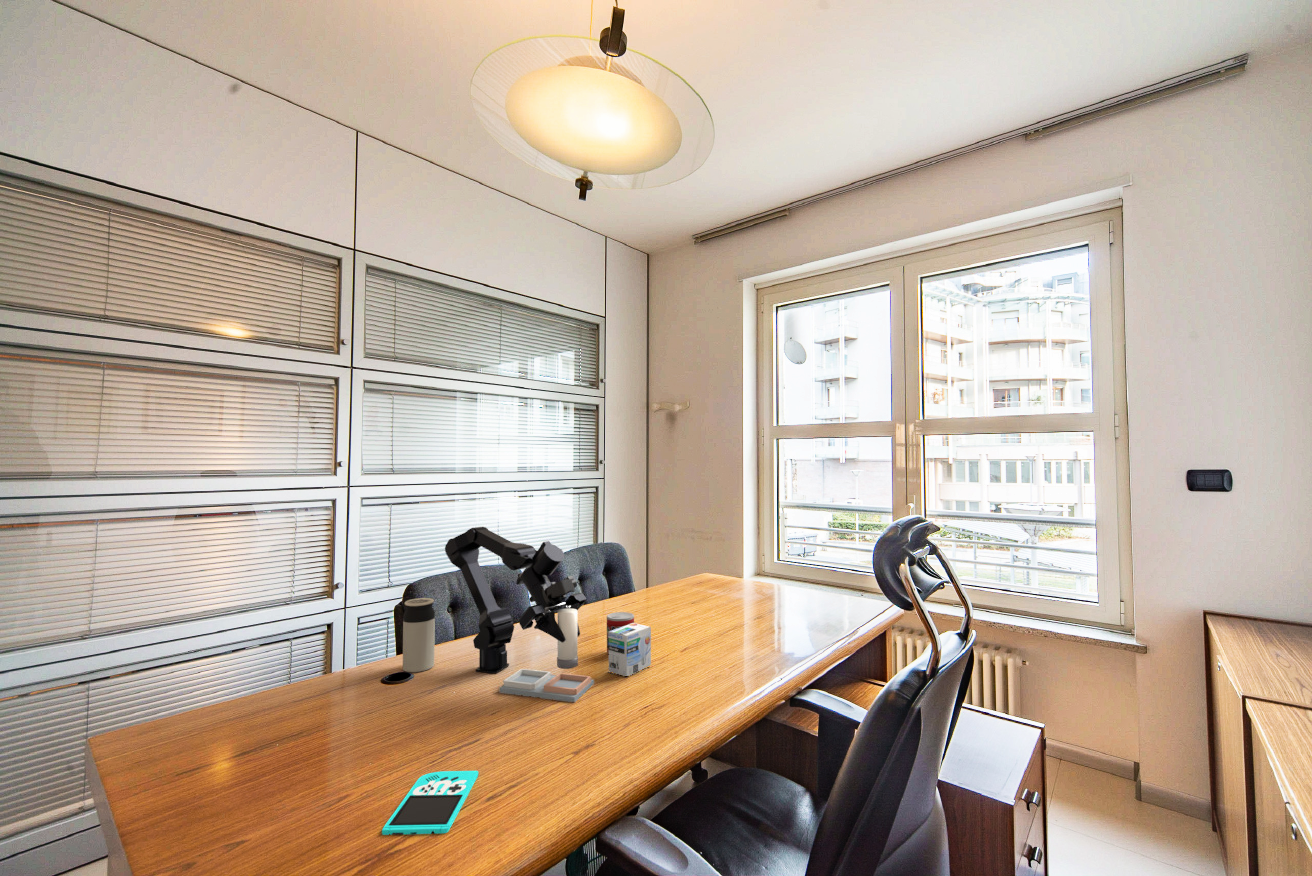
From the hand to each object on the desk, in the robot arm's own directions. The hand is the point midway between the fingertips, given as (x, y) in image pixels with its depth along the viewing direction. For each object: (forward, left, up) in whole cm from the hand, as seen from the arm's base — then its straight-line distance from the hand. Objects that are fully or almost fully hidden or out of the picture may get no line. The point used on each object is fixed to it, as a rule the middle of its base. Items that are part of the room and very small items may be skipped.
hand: (571, 638), depth 135 cm
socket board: (-7, 0, -13) cm, 14 cm away
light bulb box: (+8, +18, -13) cm, 24 cm away
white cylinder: (-1, 0, -7) cm, 7 cm away
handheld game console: (-2, -46, -13) cm, 48 cm away
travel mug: (-48, +3, -13) cm, 50 cm away
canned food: (+1, +29, -13) cm, 32 cm away
